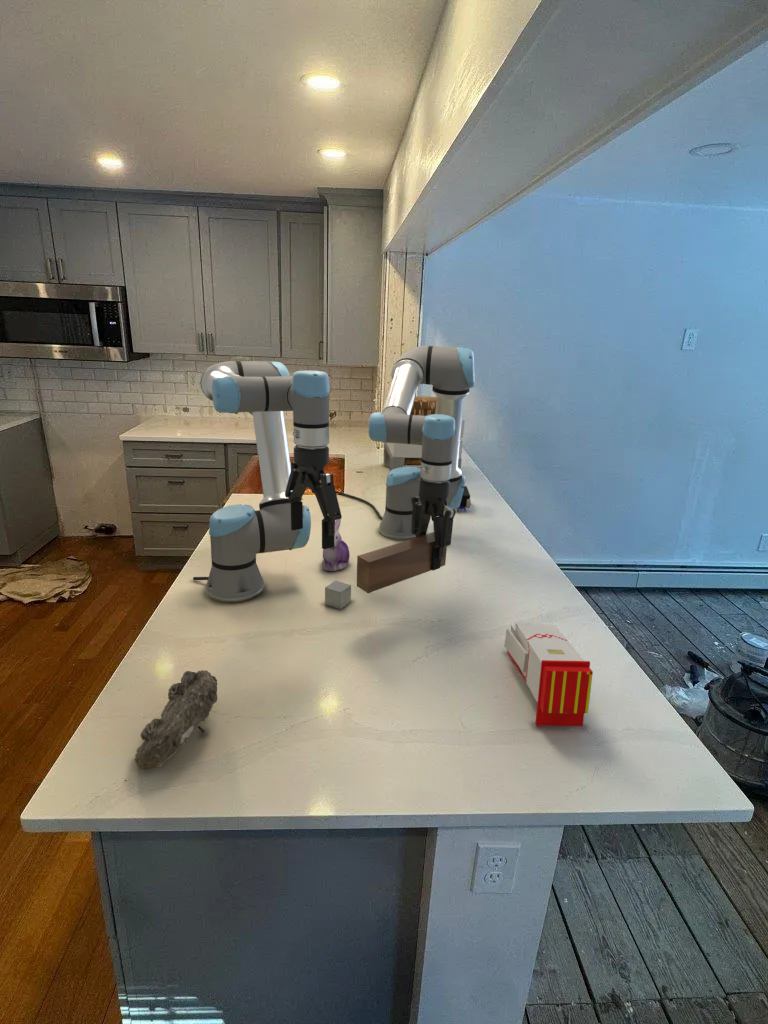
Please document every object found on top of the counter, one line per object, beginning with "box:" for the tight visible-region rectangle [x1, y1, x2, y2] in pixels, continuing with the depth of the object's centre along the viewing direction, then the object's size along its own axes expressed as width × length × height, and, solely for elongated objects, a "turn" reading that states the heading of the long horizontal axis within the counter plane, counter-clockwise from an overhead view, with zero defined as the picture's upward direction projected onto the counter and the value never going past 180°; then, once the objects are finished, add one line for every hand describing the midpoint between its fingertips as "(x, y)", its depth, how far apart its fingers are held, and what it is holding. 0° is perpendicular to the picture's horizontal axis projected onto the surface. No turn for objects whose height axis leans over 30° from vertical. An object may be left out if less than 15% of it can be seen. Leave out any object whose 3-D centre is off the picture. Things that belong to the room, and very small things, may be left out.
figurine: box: [322, 518, 351, 572], centre depth 171 cm, size 9×10×15 cm
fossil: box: [134, 669, 218, 770], centre depth 103 cm, size 22×10×15 cm
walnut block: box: [356, 531, 448, 594], centre depth 140 cm, size 4×26×8 cm, turn 131°
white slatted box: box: [383, 396, 465, 472], centre depth 268 cm, size 34×33×41 cm
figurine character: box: [456, 485, 472, 513], centre depth 228 cm, size 7×8×15 cm
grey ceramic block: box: [324, 579, 352, 610], centre depth 151 cm, size 5×5×5 cm
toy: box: [503, 622, 594, 727], centre depth 121 cm, size 12×13×30 cm
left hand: (311, 538), depth 128 cm, fingers open, 13 cm apart
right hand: (428, 565), depth 147 cm, fingers closed on walnut block, 4 cm apart
